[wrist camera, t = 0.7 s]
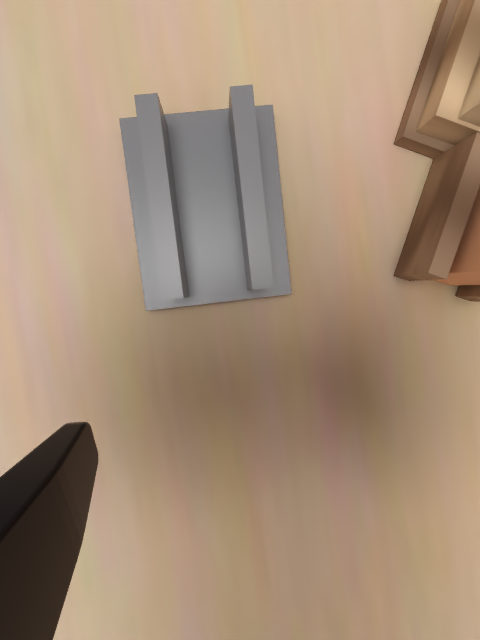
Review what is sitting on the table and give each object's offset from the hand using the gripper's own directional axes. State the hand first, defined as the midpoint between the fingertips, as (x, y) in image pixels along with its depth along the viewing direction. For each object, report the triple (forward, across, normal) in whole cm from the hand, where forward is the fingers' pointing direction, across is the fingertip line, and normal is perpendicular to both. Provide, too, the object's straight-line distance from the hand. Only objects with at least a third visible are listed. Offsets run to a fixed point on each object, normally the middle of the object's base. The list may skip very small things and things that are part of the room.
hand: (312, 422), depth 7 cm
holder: (+15, +2, -2) cm, 15 cm away
